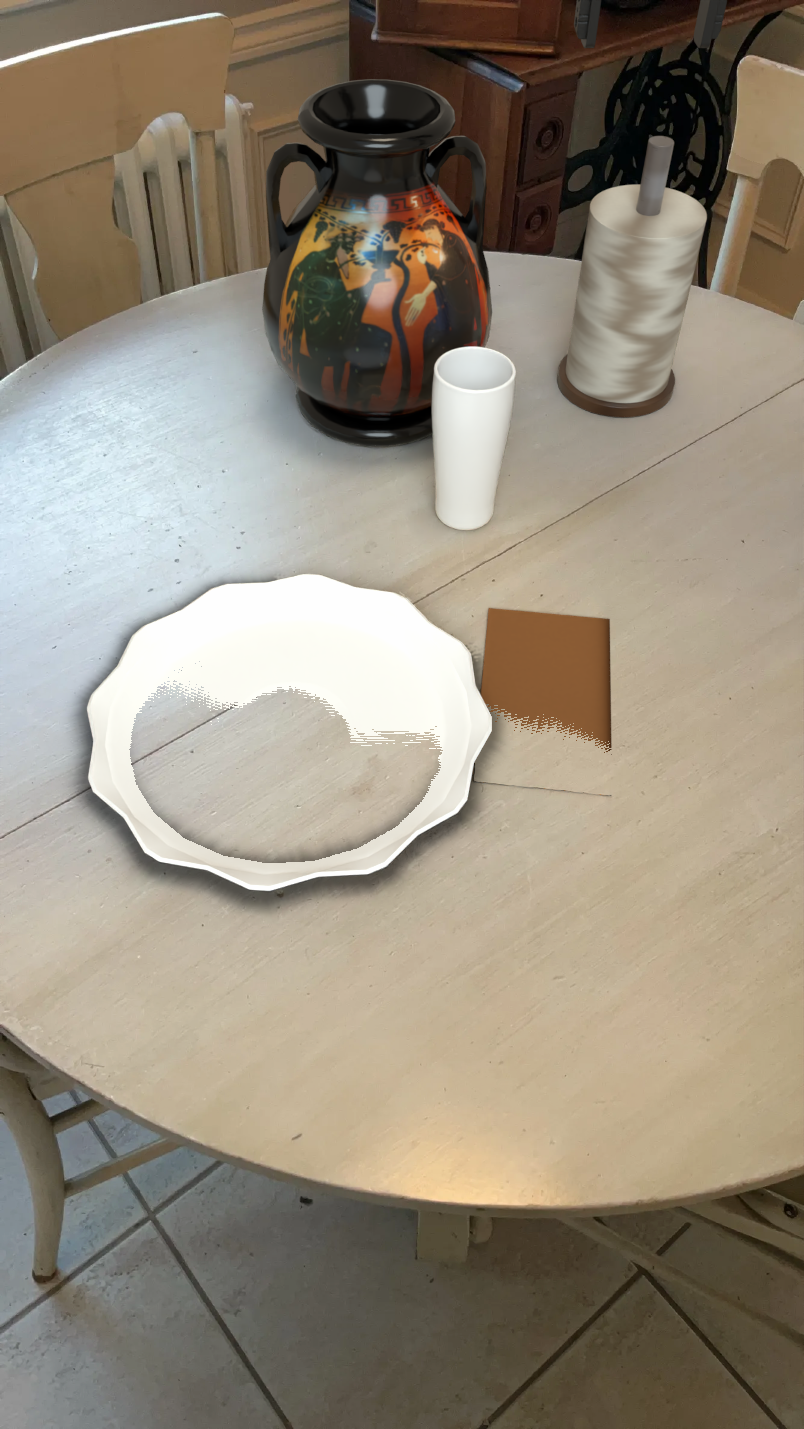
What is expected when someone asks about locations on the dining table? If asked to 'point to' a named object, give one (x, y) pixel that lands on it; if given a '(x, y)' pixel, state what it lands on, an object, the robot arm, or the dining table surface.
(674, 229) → the towel holder
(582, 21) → the robot arm
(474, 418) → the drinking glass
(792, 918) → the dining table surface
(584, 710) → the cork mat
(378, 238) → the amphora vase
